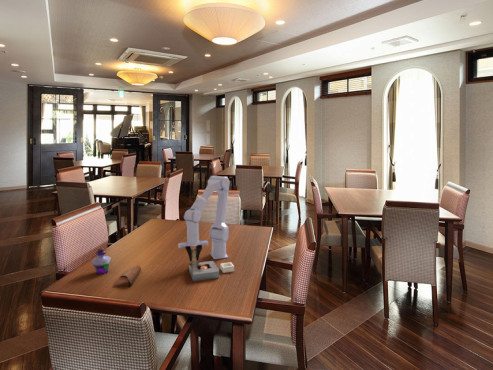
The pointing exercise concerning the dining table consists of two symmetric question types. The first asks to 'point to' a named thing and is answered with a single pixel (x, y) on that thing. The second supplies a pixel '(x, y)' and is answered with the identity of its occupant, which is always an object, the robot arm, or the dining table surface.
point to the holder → (227, 267)
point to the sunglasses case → (128, 277)
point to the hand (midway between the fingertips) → (193, 260)
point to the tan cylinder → (193, 256)
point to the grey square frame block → (203, 271)
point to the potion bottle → (101, 261)
